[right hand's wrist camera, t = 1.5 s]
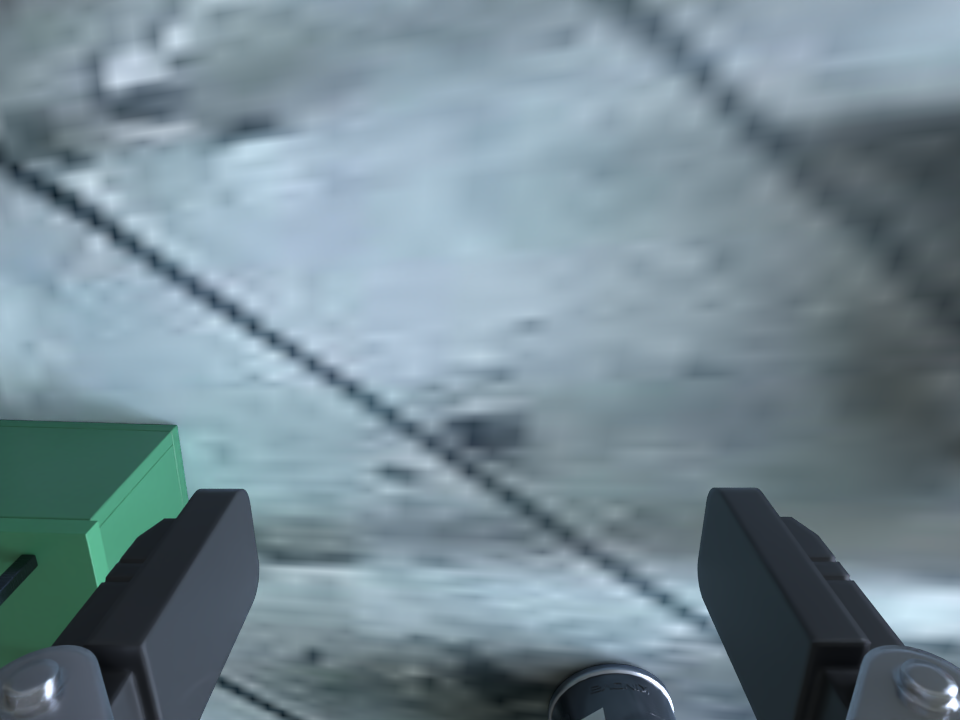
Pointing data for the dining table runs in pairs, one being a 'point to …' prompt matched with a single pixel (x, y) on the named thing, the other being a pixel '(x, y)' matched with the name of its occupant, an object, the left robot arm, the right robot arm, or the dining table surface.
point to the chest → (92, 476)
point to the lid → (45, 579)
